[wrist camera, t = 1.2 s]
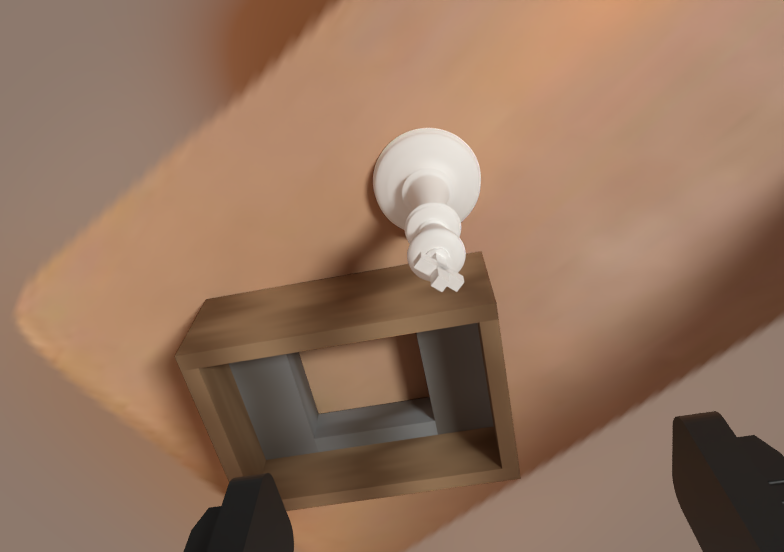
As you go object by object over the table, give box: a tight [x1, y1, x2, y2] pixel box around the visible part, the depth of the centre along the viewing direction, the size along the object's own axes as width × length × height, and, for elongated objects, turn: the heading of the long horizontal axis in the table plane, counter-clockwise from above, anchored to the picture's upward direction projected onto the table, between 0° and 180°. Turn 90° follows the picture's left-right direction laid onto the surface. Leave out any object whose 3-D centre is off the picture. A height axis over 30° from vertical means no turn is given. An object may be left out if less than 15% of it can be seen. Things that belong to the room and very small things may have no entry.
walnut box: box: [175, 252, 521, 511], centre depth 31 cm, size 14×10×5 cm
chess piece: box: [373, 128, 481, 292], centre depth 24 cm, size 5×5×10 cm
